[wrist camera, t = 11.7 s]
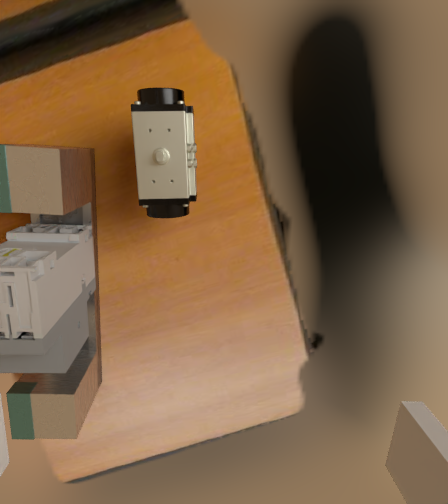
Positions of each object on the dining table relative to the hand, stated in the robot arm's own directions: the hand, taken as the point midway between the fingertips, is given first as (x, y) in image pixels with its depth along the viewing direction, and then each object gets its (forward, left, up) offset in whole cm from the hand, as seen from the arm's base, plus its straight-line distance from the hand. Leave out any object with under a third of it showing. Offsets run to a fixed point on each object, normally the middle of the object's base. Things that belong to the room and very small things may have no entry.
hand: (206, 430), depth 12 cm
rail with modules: (+8, -17, -35) cm, 39 cm away
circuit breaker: (+8, -17, -33) cm, 38 cm away
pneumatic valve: (-8, -4, -35) cm, 36 cm away
